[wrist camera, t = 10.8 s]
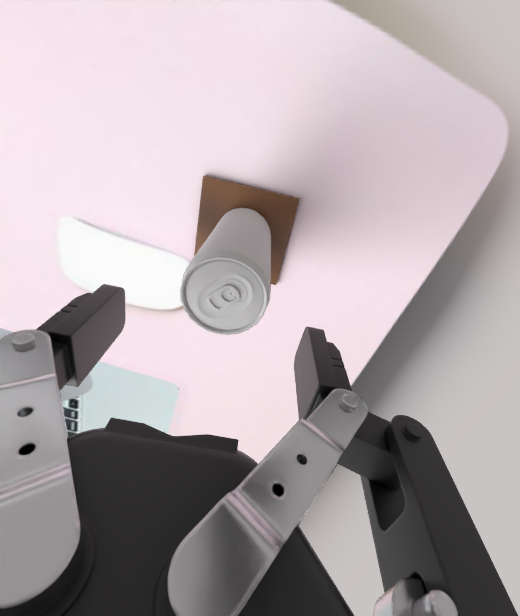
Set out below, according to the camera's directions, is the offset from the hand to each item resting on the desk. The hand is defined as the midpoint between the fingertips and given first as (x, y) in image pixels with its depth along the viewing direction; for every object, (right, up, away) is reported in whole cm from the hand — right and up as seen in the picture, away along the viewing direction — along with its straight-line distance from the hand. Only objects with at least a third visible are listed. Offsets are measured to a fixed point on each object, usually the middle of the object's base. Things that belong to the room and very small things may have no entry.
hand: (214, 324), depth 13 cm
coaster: (+1, +7, +13) cm, 15 cm away
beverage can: (+1, +7, +13) cm, 15 cm away
